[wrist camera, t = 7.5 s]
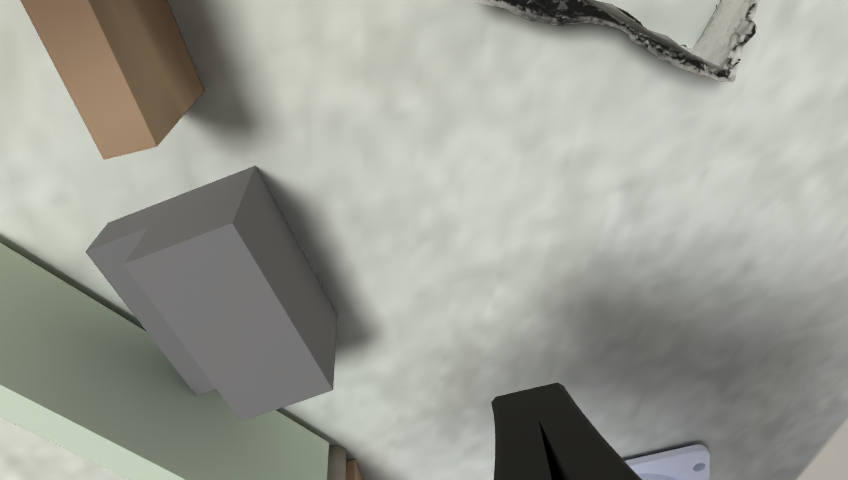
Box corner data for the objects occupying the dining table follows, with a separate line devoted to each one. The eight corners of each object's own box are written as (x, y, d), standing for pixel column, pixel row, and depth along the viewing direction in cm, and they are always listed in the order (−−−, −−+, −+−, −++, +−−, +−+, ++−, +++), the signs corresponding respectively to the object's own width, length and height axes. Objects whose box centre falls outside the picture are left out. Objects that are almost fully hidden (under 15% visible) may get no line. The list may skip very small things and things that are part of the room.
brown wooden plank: (392, 553, 28) (398, 668, 24) (367, 558, 28) (368, 675, 24) (55, -272, 13) (-89, -355, 9) (2, -258, 13) (-166, -334, 9)
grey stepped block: (337, 310, 21) (332, 390, 18) (209, 356, 22) (180, 443, 18) (256, 162, 18) (232, 223, 15) (110, 219, 19) (54, 290, 15)
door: (328, 442, 24) (322, 549, 20) (298, 467, 24) (286, 576, 20) (-20, 230, 18) (-125, 321, 14) (-49, 268, 19) (-159, 365, 15)
